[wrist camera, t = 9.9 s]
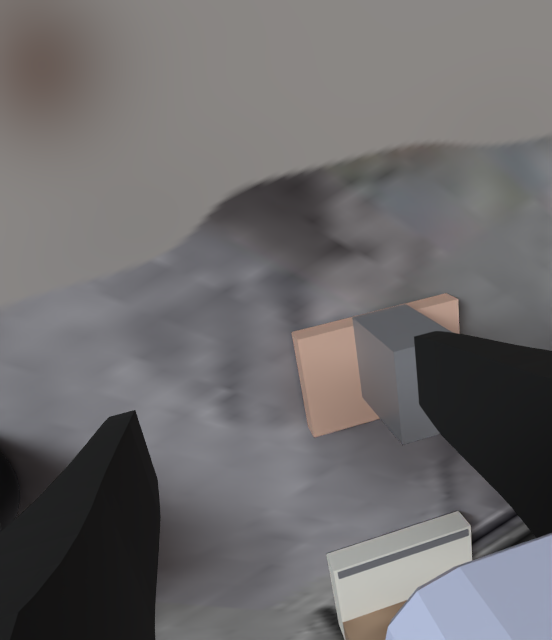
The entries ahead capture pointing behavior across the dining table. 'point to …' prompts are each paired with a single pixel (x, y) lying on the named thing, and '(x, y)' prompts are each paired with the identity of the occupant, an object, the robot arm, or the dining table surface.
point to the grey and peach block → (370, 368)
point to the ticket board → (393, 572)
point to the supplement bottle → (8, 493)
